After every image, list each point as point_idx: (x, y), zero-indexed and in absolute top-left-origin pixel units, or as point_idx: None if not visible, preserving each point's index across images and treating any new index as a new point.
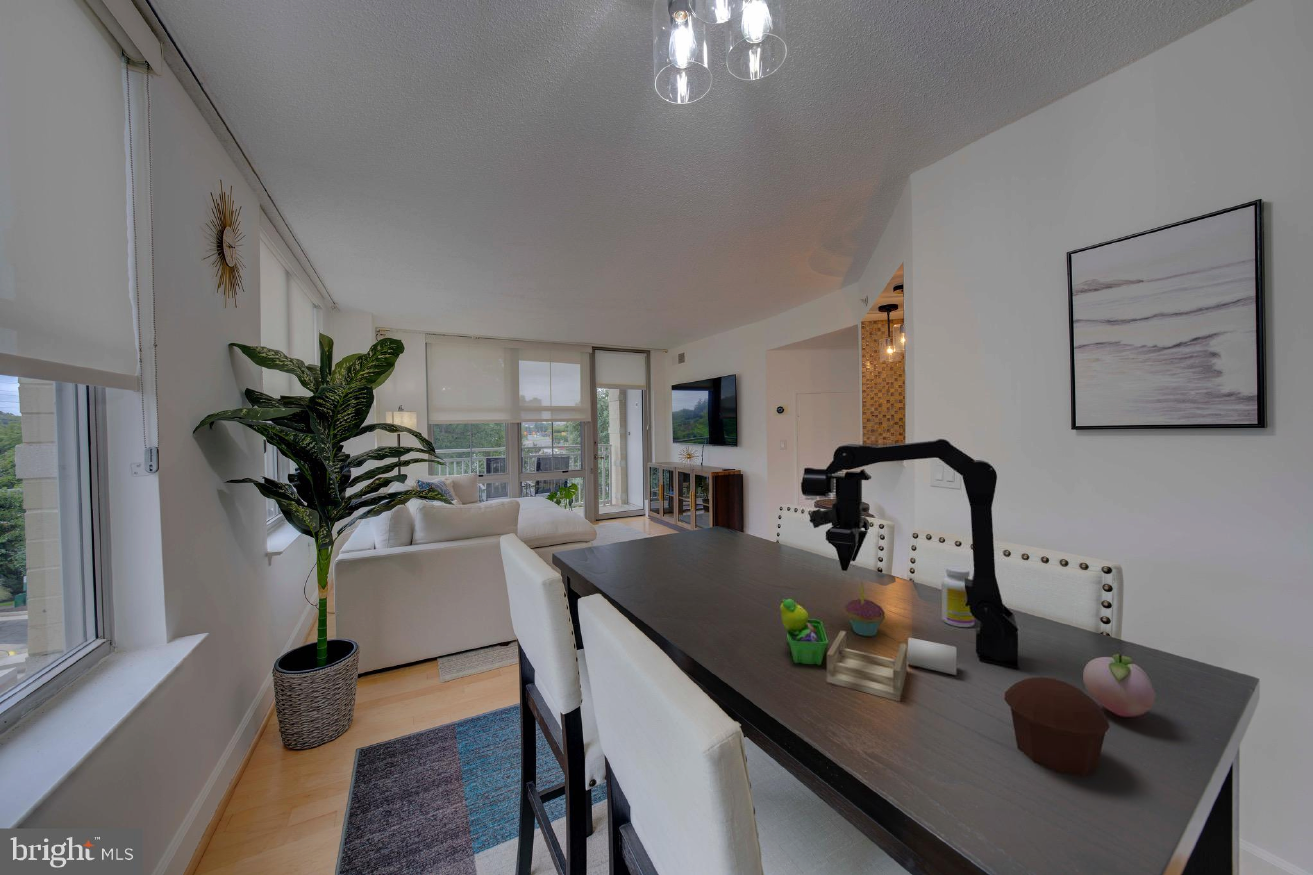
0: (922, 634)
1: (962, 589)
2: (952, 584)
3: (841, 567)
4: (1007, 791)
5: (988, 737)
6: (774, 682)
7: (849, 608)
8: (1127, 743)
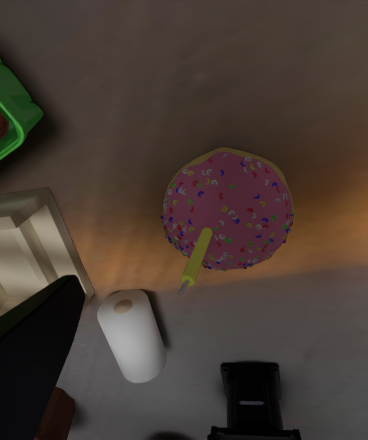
0: (296, 290)
1: None
2: None
3: (49, 287)
4: None
5: None
6: None
7: (177, 188)
8: (118, 434)
